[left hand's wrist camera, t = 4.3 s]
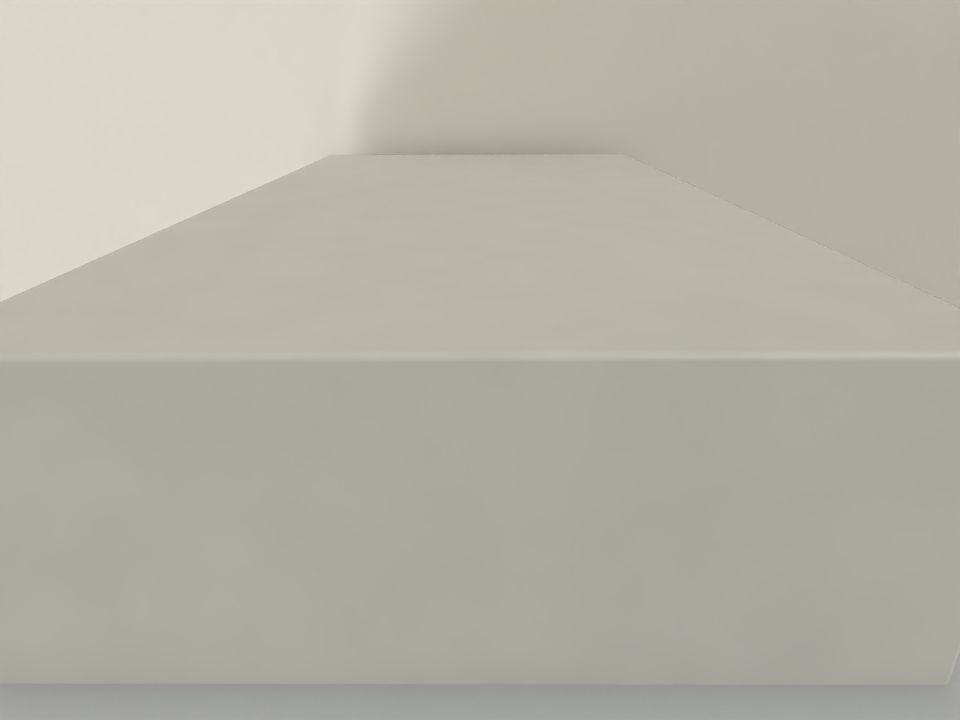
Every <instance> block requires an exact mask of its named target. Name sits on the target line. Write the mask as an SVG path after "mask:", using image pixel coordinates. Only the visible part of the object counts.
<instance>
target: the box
mask: <svg viewBox="0 0 960 720" xmlns="http://www.w3.org/2000/svg"><path fill="white" fill-rule="evenodd" d="M959 652H960V308H958V307H956V306H954V305H952V304H949V303H947V302H945V301H943V300H941V299H938V298H936V297H934V296H932V295H930V294H928V293H925V292H923V291H921V290H919V289H917V288H915V287H912V286H910V285H908V284H906V283H904V282H901V281H899V280H897V279H895V278H893V277H891V276H888V275H886V274H884V273H882V272H880V271H878V270H875V269H873V268H871V267H869V266H867V265H864V264H862V263H860V262H858V261H856V260H854V259H851V258H849V257H847V256H845V255H843V254H841V253H838V252H836V251H834V250H832V249H830V248H827V247H825V246H823V245H821V244H819V243H817V242H814V241H812V240H810V239H808V238H806V237H804V236H801V235H799V234H797V233H795V232H793V231H790V230H788V229H786V228H784V227H782V226H780V225H777V224H775V223H773V222H771V221H769V220H767V219H764V218H762V217H760V216H758V215H756V214H753V213H751V212H749V211H747V210H745V209H743V208H740V207H738V206H736V205H734V204H732V203H730V202H727V201H725V200H723V199H721V198H719V197H716V196H714V195H712V194H710V193H708V192H706V191H703V190H701V189H699V188H697V187H695V186H693V185H690V184H688V183H686V182H684V181H682V180H679V179H677V178H675V177H673V176H671V175H669V174H666V173H664V172H662V171H660V170H658V169H656V168H653V167H651V166H649V165H647V164H645V163H643V162H640V161H638V160H636V159H634V158H632V157H629V156H627V155H625V154H498V155H330V156H328V157H326V158H323V159H321V160H319V161H317V162H314V163H312V164H310V165H308V166H305V167H303V168H301V169H299V170H296V171H294V172H292V173H290V174H287V175H285V176H283V177H281V178H278V179H276V180H274V181H272V182H269V183H267V184H265V185H263V186H260V187H258V188H256V189H254V190H251V191H249V192H247V193H245V194H242V195H240V196H238V197H236V198H233V199H231V200H229V201H227V202H224V203H222V204H220V205H218V206H215V207H213V208H211V209H209V210H206V211H204V212H202V213H200V214H197V215H195V216H193V217H191V218H188V219H186V220H184V221H182V222H179V223H177V224H175V225H173V226H170V227H168V228H166V229H164V230H161V231H159V232H157V233H155V234H152V235H150V236H148V237H146V238H143V239H141V240H139V241H137V242H134V243H132V244H130V245H128V246H126V247H123V248H121V249H119V250H117V251H114V252H112V253H110V254H108V255H105V256H103V257H101V258H99V259H96V260H94V261H92V262H90V263H87V264H85V265H83V266H81V267H78V268H76V269H74V270H72V271H69V272H67V273H65V274H63V275H60V276H58V277H56V278H54V279H51V280H49V281H47V282H45V283H42V284H40V285H38V286H36V287H33V288H31V289H29V290H27V291H24V292H22V293H20V294H18V295H15V296H13V297H11V298H9V299H6V300H4V301H2V302H0V684H711V685H946V684H948V683H949V682H950V679H951V676H952V673H953V670H954V667H955V664H956V661H957V658H958V655H959Z"/></svg>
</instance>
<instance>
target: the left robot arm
mask: <svg viewBox="0 0 960 720" xmlns="http://www.w3.org/2000/svg"><path fill="white" fill-rule="evenodd" d="M0 720H960V652H959V655H958V658H957V661H956V664H955V667H954V670H953V673H952V676H951V679H950V682H949V683H948V684H946V685H711V684H0Z"/></svg>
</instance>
